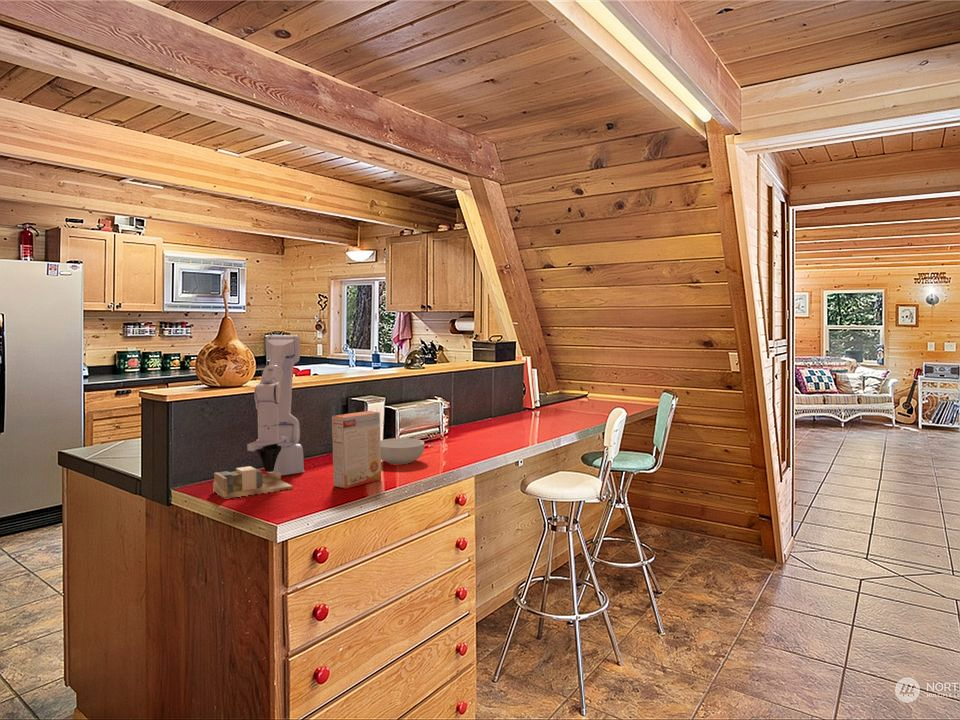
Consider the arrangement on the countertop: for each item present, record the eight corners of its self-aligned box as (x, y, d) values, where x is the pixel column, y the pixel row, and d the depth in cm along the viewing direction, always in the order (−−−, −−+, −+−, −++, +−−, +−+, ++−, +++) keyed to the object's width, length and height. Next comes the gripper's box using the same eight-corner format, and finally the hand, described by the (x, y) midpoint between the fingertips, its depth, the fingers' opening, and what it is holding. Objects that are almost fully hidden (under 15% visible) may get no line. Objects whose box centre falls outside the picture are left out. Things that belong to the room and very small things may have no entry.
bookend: (255, 483, 185) (255, 468, 185) (262, 486, 181) (262, 471, 181) (250, 483, 184) (250, 468, 184) (257, 487, 180) (256, 472, 180)
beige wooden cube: (250, 484, 184) (250, 466, 184) (256, 488, 180) (256, 469, 180) (236, 487, 182) (236, 468, 182) (242, 490, 178) (242, 471, 178)
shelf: (279, 482, 191) (279, 462, 191) (292, 488, 183) (292, 468, 183) (213, 492, 179) (213, 472, 179) (224, 499, 171) (224, 478, 171)
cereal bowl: (364, 464, 215) (364, 444, 214) (393, 456, 229) (393, 436, 229) (406, 470, 207) (406, 448, 206) (433, 460, 222) (433, 440, 221)
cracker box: (368, 477, 197) (368, 410, 196) (382, 480, 193) (381, 411, 192) (331, 486, 186) (330, 415, 185) (345, 489, 182) (344, 416, 181)
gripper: (275, 420, 192) (276, 464, 193) (238, 427, 179) (239, 475, 180) (293, 421, 189) (294, 467, 190) (257, 429, 176) (258, 477, 177)
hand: (269, 471), depth 185 cm, fingers closed
